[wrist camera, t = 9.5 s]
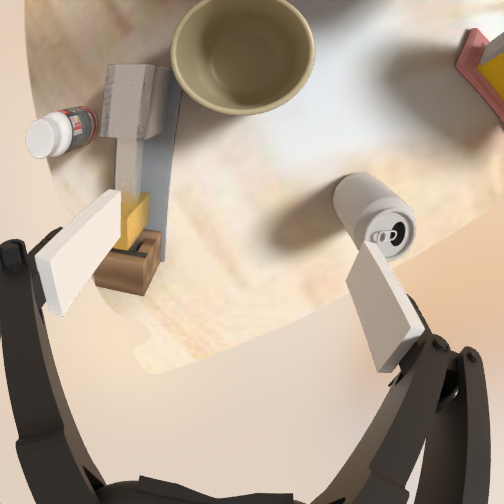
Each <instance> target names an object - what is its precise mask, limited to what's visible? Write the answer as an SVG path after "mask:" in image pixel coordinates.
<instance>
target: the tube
mask: <svg viewBox="0 0 504 504" xmlns="http://www.w3.org/2000/svg"><path fill="white" fill-rule="evenodd" d="M143 145H144V140H139V139H127V138H117V153H116V176H115V190H117V191H121V237H120V238H119V239H118V241H117V242H116V243H115V245H114V246H113V247H112V248H116V249H121V250H127V251H128V250H132V251H137V252H138V250H139V234H140V233H141V231H142V230H143V229H144V227H145V226H146V225H147V223H148V222H149V211H150V193H147V192H140V186H141V170H142V156H143Z"/></svg>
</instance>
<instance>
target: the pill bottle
mask: <svg viewBox="0 0 504 504" xmlns="http://www.w3.org/2000/svg"><path fill="white" fill-rule="evenodd" d="M96 131H97V118H96V115H95V114H94V112H93V111H92V110H91V109H89V108H87V107H84V106H80V107H74V108H69V109H64V110H59V111H54V112H51V113H48V114H47V115H45V116H44V117H43V118H41V119H38V120H35V121H34V122H32V123H31V125H30V126H29V128H28V130H27V133H26V146H27V149H28V151H29V153H30V154H31V155H32V156H33V157H35V158H37V159H42V158H45V157H48V156H50V157H57V156H60V155H62V154H64V153H67V152H69V151H71V150H74V149H76V148H79V147H81V146H84V145H86V144H88V143H89V142H90V141H91V140H92V139H93V138H94V136H95V134H96Z"/></svg>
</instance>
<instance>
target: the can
mask: <svg viewBox="0 0 504 504" xmlns="http://www.w3.org/2000/svg"><path fill="white" fill-rule="evenodd" d="M333 207H334V210H335V212H336V214H337V216H338V217H339V219H340V221H341V222H342V224H343V225H344V227H345V229H346V230H347V232H348V234H349V235H350V237H351V239H352V240H353V242H354V244H355V245H356V247H357V249H358V250H360V248H361V246H362V244H363V241H367V242H371V243H375V244H376V245H377V247H378V248H379V250H380V251H381V253H382V255H383V256H384V258H385V259H386V261H387V262H389V261H394V260H396V259H398V258H400V257H402V256H403V255H404V254H405V253H406V252H407V251H408V250H409V249H410V247H411V246H412V244H413V242H414V239H415V236H416V224H415V217H414V214H413V211H412V209H411V208H410V206H409V205H408V204H407V203H406V202H405V201H404V200H403V199H401V198H400V197H399V196H398V195H397V194H395V193H394V192H393V191H392V190H390V189H389V188H388V187H387V186H385V185H384V184H383V183H382V182H380V181H379V180H378V179H376V178H375V177H373V176H372V175H370V174H367V173H354V174H351V175H349V176H347V177H345V178H344V179H343V180H342V181H341V182H340V183H339V184H338V186H337V187H336V189H335V191H334V195H333Z"/></svg>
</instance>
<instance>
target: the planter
mask: <svg viewBox="0 0 504 504" xmlns="http://www.w3.org/2000/svg"><path fill="white" fill-rule="evenodd" d="M170 58H171V65H172V69H173V72H174V75H175V77H176V79H177V81H178V83H179V84H180V86H181V87H182V88H183V90H184V91H185V92H186V93H187V94H188V95H189V96H190V97H191V98H192V99H194V100H195V101H196V102H198V103H199V104H201V105H202V106H204V107H206V108H208V109H211V110H213V111H216V112H219V113H223V114H228V115H254V114H260V113H264V112H267V111H270V110H272V109H275V108H277V107H279V106H281V105H283V104H284V103H286V102H287V101H289V100H290V99H291V98H293V97H294V96H295V95H296V94H297V93H298V92H299V91H300V90H301V88H302V87H303V86H304V85H305V83H306V82H307V80H308V78H309V76H310V74H311V71H312V69H313V65H314V60H315V42H314V38H313V34H312V31H311V29H310V27H309V25H308V23H307V21H306V20H305V18H304V17H303V16H302V14H301V13H300V12H299V11H298V10H297V9H296V8H295V7H294V6H293V5H291V4H290V3H289V2H287V1H286V0H202V1H200V2H199V3H197V4H196V5H195V6H194V7H192V8H191V9H190V10H189V11H188V12H187V13H186V14H185V15H184V17H183V18H182V19H181V21H180V22H179V24H178V26H177V28H176V30H175V32H174V35H173V38H172V42H171V48H170Z"/></svg>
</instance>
